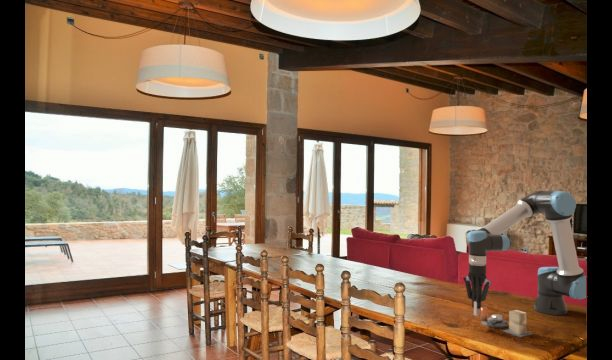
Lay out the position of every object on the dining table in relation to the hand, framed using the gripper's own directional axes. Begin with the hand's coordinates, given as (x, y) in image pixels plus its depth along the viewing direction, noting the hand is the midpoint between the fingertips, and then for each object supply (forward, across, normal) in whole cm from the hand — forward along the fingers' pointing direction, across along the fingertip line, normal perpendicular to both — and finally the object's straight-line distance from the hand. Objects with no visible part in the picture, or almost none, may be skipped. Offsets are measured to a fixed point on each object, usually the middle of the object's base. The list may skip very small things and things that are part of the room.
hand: (476, 315), depth 205 cm
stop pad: (+6, +15, +8) cm, 18 cm away
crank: (+4, +4, +6) cm, 8 cm away
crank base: (+6, +5, +11) cm, 13 cm away
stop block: (+6, +15, +8) cm, 18 cm away
